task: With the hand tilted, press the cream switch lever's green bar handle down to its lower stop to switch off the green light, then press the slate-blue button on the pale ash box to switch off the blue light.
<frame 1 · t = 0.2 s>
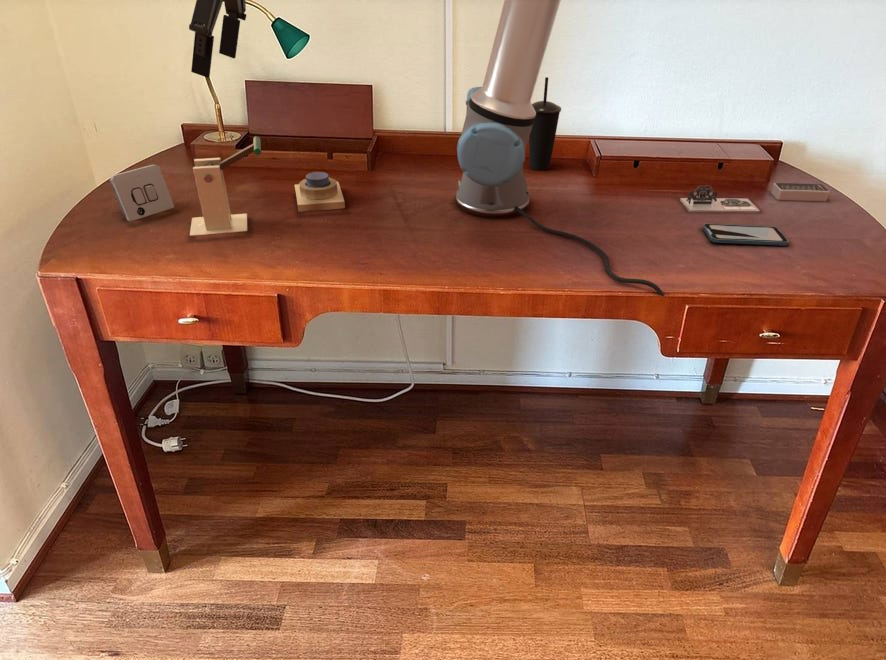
hand: (214, 64, 117), 28 cm above the table, tool tilted 20°, fingers open, 13 cm apart
drinking cup: (539, 167, 162), on the table
button: (317, 180, 137), point 5 cm above the table, slide at 0.1 cm
switch bracket: (220, 229, 128), on the table
electrical switch: (146, 216, 132), on the table
smartphone: (743, 237, 133), on the table
car cutout: (718, 207, 146), on the table
multiport hub: (798, 197, 151), on the table
lever: (231, 160, 122), point 13 cm above the table, hinge at 26.0°
button box: (320, 204, 139), on the table
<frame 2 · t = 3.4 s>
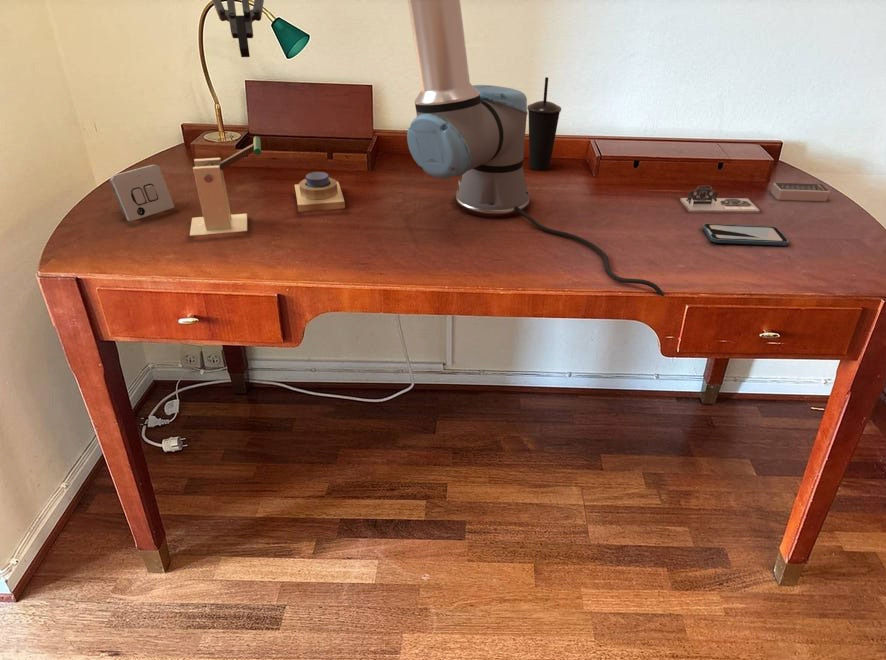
hand: (244, 52, 124), 28 cm above the table, tool tilted 45°, fingers closed
nothing on the table moved.
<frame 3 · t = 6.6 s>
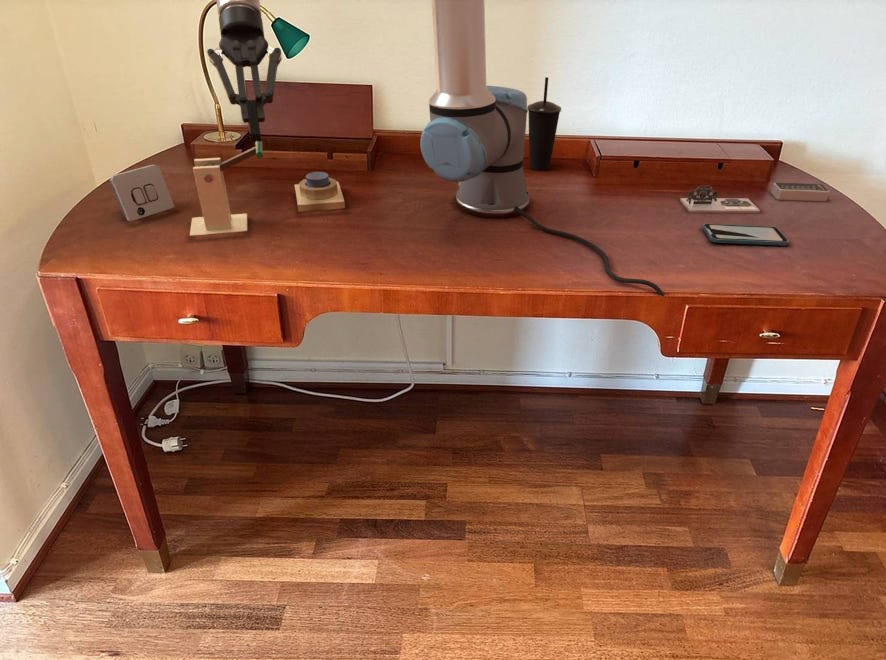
hand: (256, 137, 121), 17 cm above the table, tool tilted 45°, fingers closed
lever: (232, 161, 122), point 13 cm above the table, hinge at 22.3°, touching gripper
everything else where it was.
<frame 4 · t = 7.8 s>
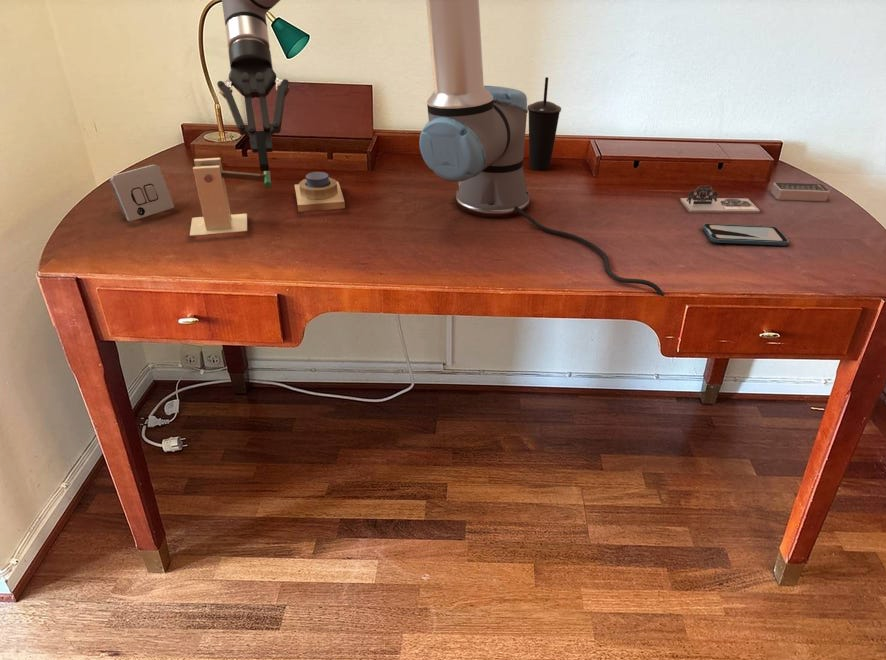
hand: (264, 167, 124), 11 cm above the table, tool tilted 45°, fingers closed
lever: (236, 175, 123), point 10 cm above the table, hinge at -9.6°, touching gripper
everything else where it was.
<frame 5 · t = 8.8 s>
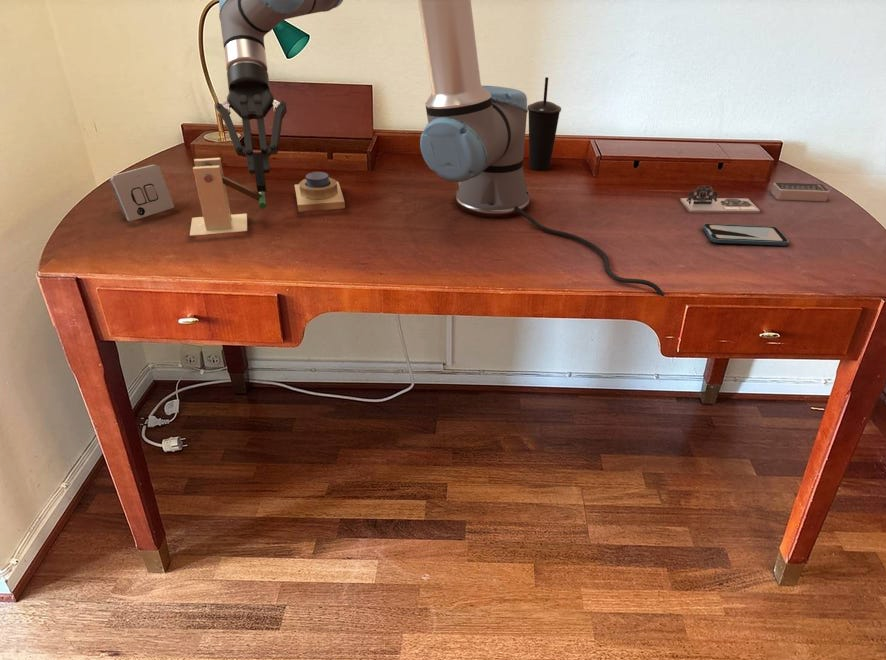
hand: (261, 188, 126), 7 cm above the table, tool tilted 45°, fingers closed
lever: (233, 185, 124), point 8 cm above the table, hinge at -33.4°, touching gripper
everything else where it was.
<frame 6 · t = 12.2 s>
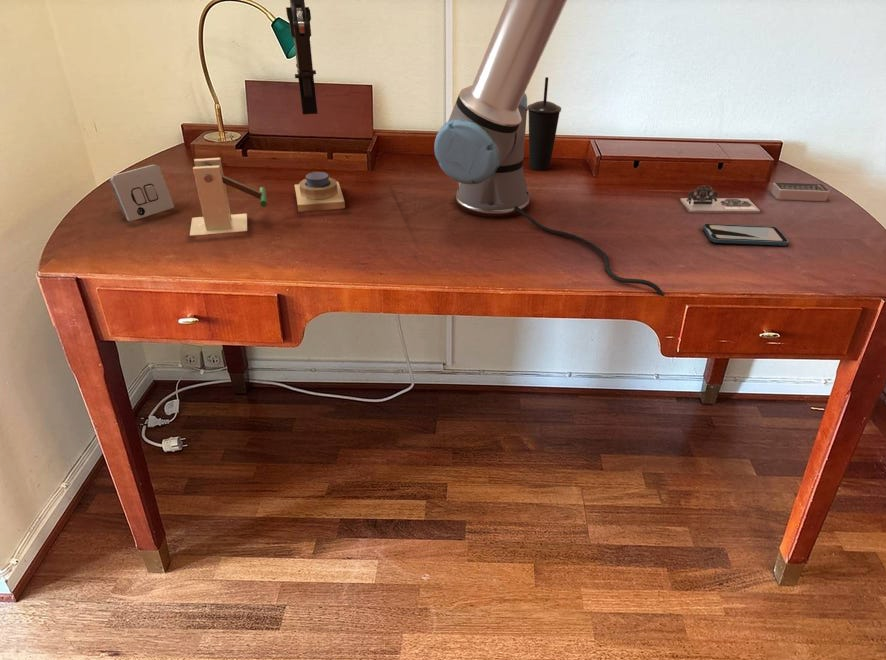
hand: (309, 112, 129), 18 cm above the table, tool pointing down, fingers closed
lever: (234, 184, 124), point 9 cm above the table, hinge at -30.7°
everything else where it was.
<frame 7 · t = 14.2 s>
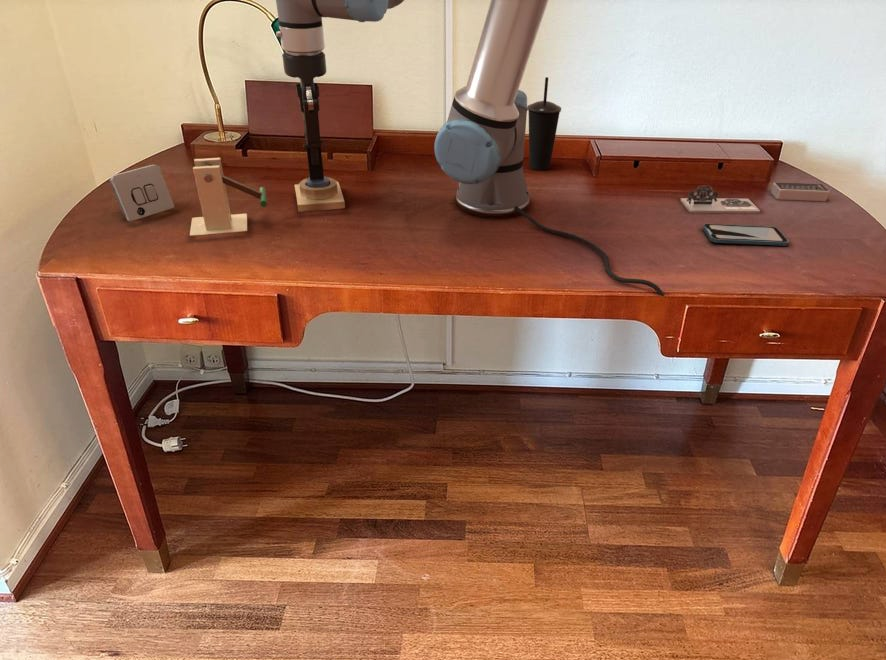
hand: (316, 178, 136), 5 cm above the table, tool pointing down, fingers closed
button: (318, 184, 137), point 4 cm above the table, slide at -0.7 cm, touching gripper
everything else where it was.
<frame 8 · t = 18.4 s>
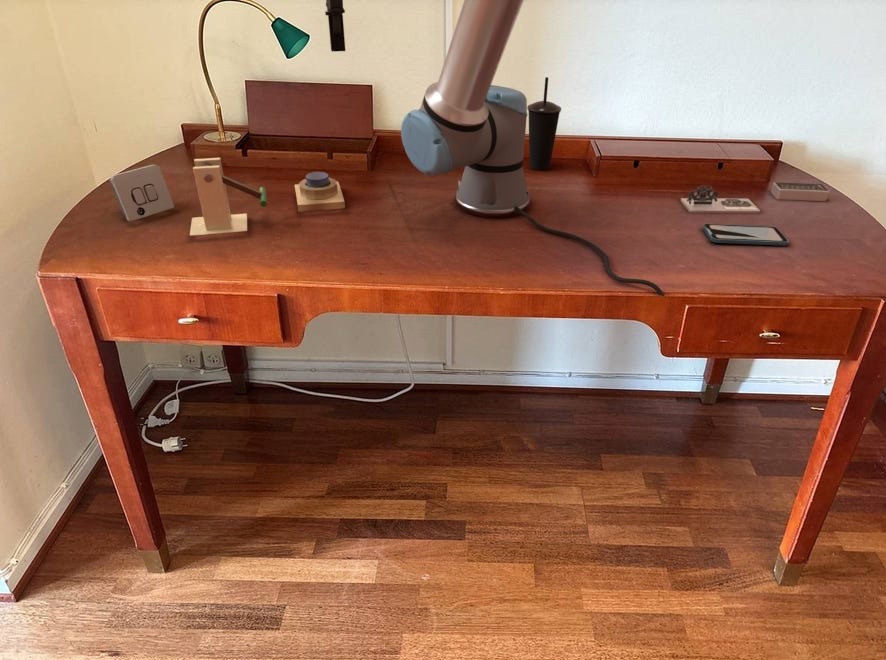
hand: (338, 50, 137), 26 cm above the table, tool pointing down, fingers closed
button: (317, 180, 137), point 5 cm above the table, slide at 0.1 cm
everything else where it was.
at the end: lever at -31° (first picture: +26°); button pushed in 1.2 cm at the most during the clip, back to where it started at the end; button slide at 0.1 cm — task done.
